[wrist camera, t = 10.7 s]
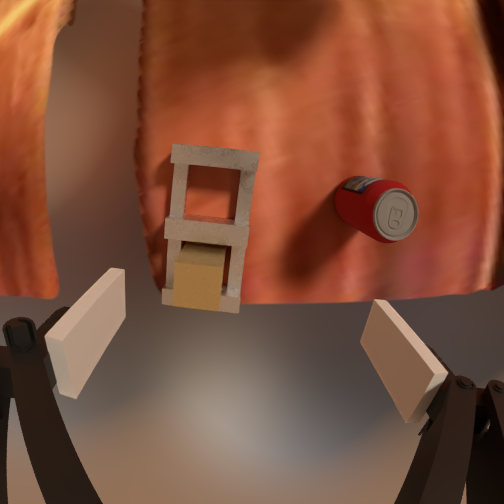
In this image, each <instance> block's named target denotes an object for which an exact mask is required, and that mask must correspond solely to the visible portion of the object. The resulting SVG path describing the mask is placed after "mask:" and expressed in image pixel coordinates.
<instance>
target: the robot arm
mask: <svg viewBox="0 0 504 504" xmlns="http://www.w3.org/2000/svg"><path fill="white" fill-rule="evenodd" d="M124 271H125V270H123V269H117V268H110V269H109V270H108V271H107V272H106V273H105V274H104V275H103V276H102V277H101V278H100V279H99V280H98V281H97V282H96V283H95V284H94V285H93V286H92V287H91V288H90V289H89V290H88V291H87V292H86V293H85V294H84V295H83V296H82V297H81V298H80V299H79V300H78V301H77V302H76V303H75V304H74V305H73V306H72V307H71V308H70V307H63V308H60V309H58V310H56V311H55V312H54V313H53V314H52V315H51V316H50V318H48V319H47V320H46V321H45V323H43V324H42V325H41V326H40V327H39V328H38V329H37V330H36V327H35V324H34V322H33V321H32V320H31V319H29V318H25V317H17V318H13V319H11V320H9V321H7V322H6V323H5V324H4V325H3V333H4V337H5V340H6V344H7V346H0V504H8V497H7V476H6V475H7V474H6V473H7V470H6V459H7V458H6V457H7V432H8V418H9V408H10V399H11V398H15V402H16V406H17V412H18V416H19V421H20V425H21V429H22V433H23V437H24V441H25V444H26V447H27V451H28V454H29V458H30V461H31V464H32V467H33V470H34V473H35V476H36V479H37V482H38V484H39V487H40V489H41V492H42V495H43V497H44V500H45V502H46V504H103V503H102V502H101V500H100V498H99V497H98V495H97V493H96V491H95V489H94V487H93V486H92V484H91V482H90V480H89V478H88V476H87V474H86V472H85V470H84V468H83V466H82V464H81V462H80V459H79V457H78V455H77V453H76V451H75V448H74V446H73V444H72V442H71V439H70V437H69V434H68V432H67V430H66V427H65V424H64V422H63V420H62V417H61V414H60V411H59V408H58V406H57V403H56V400H55V397H54V394H53V391H52V389H53V388H54V386H55V384H56V383H57V386H58V389H59V393H60V394H62V395H65V396H68V397H71V398H74V399H77V397H78V395H79V393H80V392H81V390H82V388H83V386H84V385H85V383H86V381H87V379H88V378H89V376H90V374H91V372H92V371H93V369H94V367H95V366H96V364H97V362H98V361H99V359H100V357H101V356H102V354H103V352H104V351H105V349H106V347H107V346H108V344H109V343H110V341H111V339H112V338H113V336H114V335H115V333H116V331H117V330H118V328H119V327H120V325H121V323H122V322H123V320H124V319H125V317H126V313H125V272H124ZM360 343H361V345H362V346H363V348H364V350H365V352H366V353H367V355H368V356H369V358H370V360H371V362H372V364H373V365H374V367H375V369H376V371H377V372H378V374H379V376H380V378H381V379H382V381H383V383H384V385H385V387H386V388H387V390H388V392H389V394H390V395H391V397H392V399H393V401H394V403H395V405H396V406H397V408H398V410H399V412H400V414H401V416H402V417H403V419H404V421H405V423H406V424H409V423H415V422H419V421H420V420H421V419H422V417H423V416H424V414H425V412H427V414H428V415H429V419H428V421H427V422H426V424H425V425H424V427H423V428H422V429H421V431H420V432H419V434H418V435H421V434H422V436H421V439H420V442H419V445H418V448H417V451H416V453H415V456H414V459H413V461H412V464H411V466H410V469H409V471H408V474H407V476H406V479H405V481H404V483H403V486H402V488H401V490H400V492H399V494H398V497H397V499H396V501H395V503H394V504H460V503H461V499H462V495H463V491H464V487H465V482H466V496H467V504H504V383H503V382H501V381H497V380H491V381H489V383H488V384H487V386H486V388H485V389H482V388H476V385H475V384H474V382H473V381H471V380H470V379H469V378H467V377H464V376H455V375H454V374H453V373H452V371H451V370H450V369H449V368H448V367H447V365H446V364H445V363H444V362H442V359H441V358H440V357H438V355H437V354H436V352H435V351H434V350H433V349H432V348H430V347H429V346H427V345H426V344H424V343H423V342H422V341H421V340H420V338H419V337H418V336H417V335H416V334H415V333H414V331H413V330H412V329H411V328H410V327H409V326H408V324H407V323H406V322H405V321H404V320H403V319H402V318H401V317H400V315H399V314H398V313H397V312H396V311H395V310H394V309H393V308H392V307H391V305H390V304H389V303H388V302H387V301H386V300H376V299H374V301H373V305H372V308H371V311H370V314H369V317H368V320H367V323H366V326H365V329H364V332H363V335H362V338H361V341H360ZM489 424H490V426H489V429H487V427H488V425H489Z"/></svg>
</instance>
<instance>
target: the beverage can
mask: <svg viewBox="0 0 504 504" xmlns="http://www.w3.org/2000/svg"><path fill="white" fill-rule="evenodd" d="M335 208H336V211H337V213H338V215H339V216H340V218H341V219H342V220H343V221H345V222H346V223H348V224H349V225H351V226H353V227H354V228H356V229H358V230H359V231H361V232H363V233H364V234H366V235H368V236H369V237H371V238H373V239H375V240H377V241H379V242H382V243H393V242H396V241H398V240H402V239H404V238H406V237H407V236H408V235H410V234H411V232H412V231H413V230H414V228H415V226H416V224H417V221H418V206H417V203H416V201H415V199H414V197H413V196H412V194H411V192H410V191H409V190H408V188H407V187H405V186H404V185H403V184H401V183H399V182H396V181H392V180H386V179H380V178H372V177H364V176H353V177H350V178H348V179H346V180H345V181H343V182H342V183H341V185H340V186H339V187H338V189H337V191H336V195H335Z"/></svg>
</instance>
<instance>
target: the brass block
mask: <svg viewBox="0 0 504 504" xmlns="http://www.w3.org/2000/svg"><path fill="white" fill-rule="evenodd" d="M225 252H226V245H219V244H210V243H201V242H192V241H187V243H186V244H185V246H184V247H183V249H182V251H181V252H180V254H179V255H178V257H177V259H176V260H175V263H174V284H173V306H177V307H184V308H193V309H201V310H210V311H218V312H219V306H220V297H221V289H222V280H223V271H224V261H225Z"/></svg>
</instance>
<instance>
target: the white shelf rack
mask: <svg viewBox="0 0 504 504" xmlns="http://www.w3.org/2000/svg"><path fill="white" fill-rule="evenodd" d="M258 160H259V152H252V151H244V150H236V149H227V148H217V147H207V146H196V145H183V144H173V145H172V153H171V162H170V163H175V164H174V174H173V184H172V194H171V206H170V215H169V216H167V217H166V218H165V232H164V238H165V239H168V250H167V271H166V282H165V284H164V286H163V288H162V304H163V305H171V306H173V284H174V263H175V260H176V259H177V257H178V255H179V254H180V252H181V251H182V249H183V241H192V242H201V243H210V244H219V245H228V246H232V249H231V258H230V266H229V275H228V284H222V289H221V297H220V306H219V311H221V312H230V313H239V306H240V298H241V294H240V289H241V281H242V273H243V265H244V257H245V249H246V248H247V244H248V236H249V228H250V226H249V218H250V210H251V203H252V195H253V187H254V180H255V172H257V167H258ZM190 165H201V166H211V167H221V168H230V169H239V170H241V175H240V182H239V190H238V198H237V207H236V215H235V219H227V218H218V217H209V216H200V215H190V214H185V211H186V200H187V190H188V180H189V171H190Z"/></svg>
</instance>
